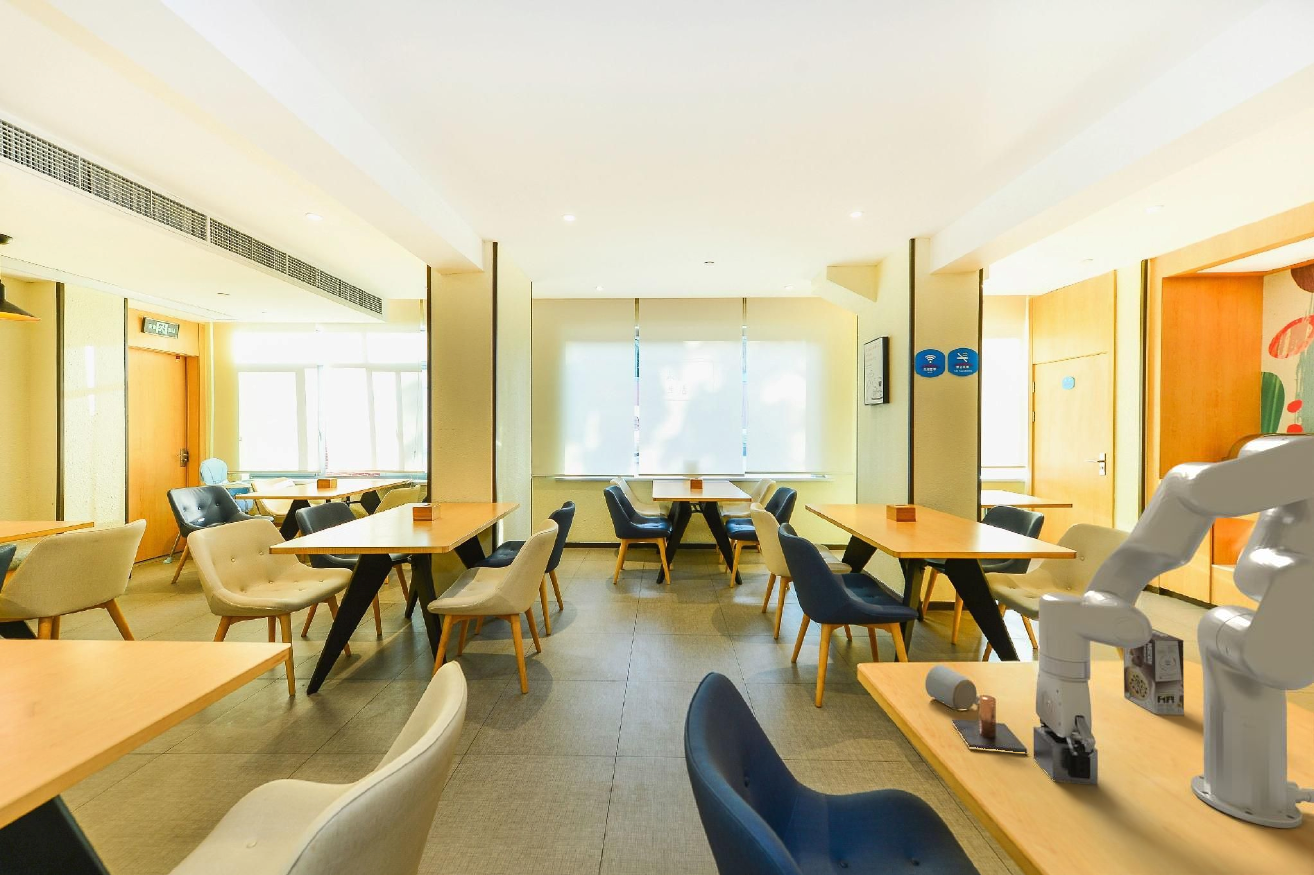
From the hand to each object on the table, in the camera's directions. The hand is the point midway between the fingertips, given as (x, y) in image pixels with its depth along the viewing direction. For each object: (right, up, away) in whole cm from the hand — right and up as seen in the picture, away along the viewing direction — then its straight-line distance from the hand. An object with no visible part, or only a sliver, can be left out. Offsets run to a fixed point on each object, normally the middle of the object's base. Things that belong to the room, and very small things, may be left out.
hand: (1064, 762), depth 103 cm
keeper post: (-7, -2, +11) cm, 14 cm away
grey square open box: (0, -2, 0) cm, 2 cm away
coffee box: (+38, -2, +26) cm, 46 cm away
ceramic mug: (-6, -2, +27) cm, 28 cm away
